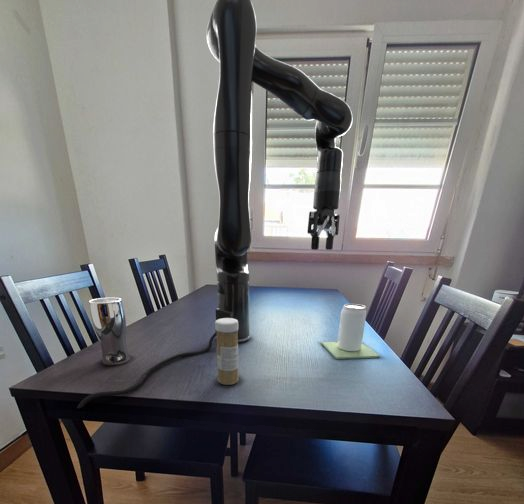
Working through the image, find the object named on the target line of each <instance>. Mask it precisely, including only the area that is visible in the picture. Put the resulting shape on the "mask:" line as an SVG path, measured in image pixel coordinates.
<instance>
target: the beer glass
mask: <svg viewBox="0 0 524 504" xmlns="http://www.w3.org/2000/svg"><path fill="white" fill-rule="evenodd" d="M88 302H89V311H90V318H91V322H92V326H93V329H94V333H95V334H96V337H97V339H98V341H99V344H100V348H101V352H102V354H101V355H102V356H101V357H102V364H103V365H105V366H118V365H119V366H120V365H123V364H126V363H128V362H130V360H131V357H130V353H129V351H128V348H127V320H126V313H125V308H124V305H123V301H122V298H120V297H99V298H93V299H90V300H89V301H88Z"/></svg>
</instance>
